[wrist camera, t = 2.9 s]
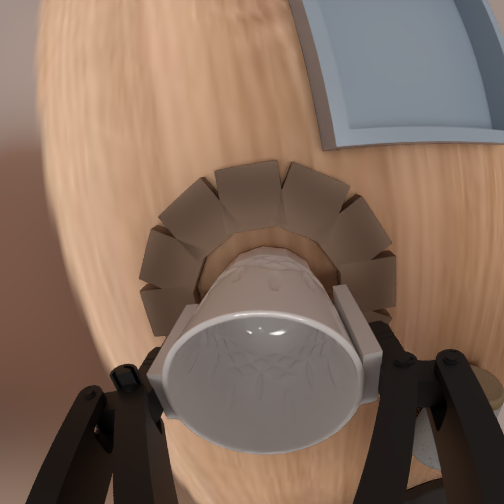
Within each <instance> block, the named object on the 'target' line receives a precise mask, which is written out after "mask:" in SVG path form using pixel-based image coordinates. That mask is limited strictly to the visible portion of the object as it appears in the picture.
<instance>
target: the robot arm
mask: <svg viewBox="0 0 504 504" xmlns="http://www.w3.org/2000/svg"><path fill="white" fill-rule="evenodd" d="M333 299H334V306H335V308H336V310H337V312H338V314H339V317H340V319H341V321H342V323H343V325H344V327H345V329H346V331H347V333H348V335H349V337H350V339H351V341H352V344H353V346H354V348H355V350H356V352H357V354H358V356H359V358H360V360H361V363H362V366H363V369H364V374H365V389H364V394H363V398H362V401H361V403H360V405H361V404H365V403H370V402H374V401H378V393H379V394H380V402H379V407H378V412H377V417H376V422H375V426H374V431H373V435H372V439H371V443H370V447H369V451H368V455H367V459H366V462H365V466H364V470H363V473H362V476H361V480H360V483H359V486H358V489H357V492H356V495H355V498H354V501H353V504H504V434H503V432H502V430H501V428H500V425H499V423H498V420H497V418H496V416H495V414H494V412H493V409H492V407H491V405H490V403H489V401H488V399H487V397H486V395H485V393H484V391H483V389H482V387H481V385H480V383H479V381H478V379H477V377H476V375H475V374H474V372H473V370H472V368H471V366H470V364H469V363H468V361H467V359H466V357H465V356H464V355H463V354H462V353H461V352H460V351H458V350H453V349H446V350H443V351H441V352H440V353H438V354H437V357H436V360H430V361H420V360H417V357H416V356H414V355H413V354H411V353H409V352H405V351H404V349H403V347H402V346H401V344H400V343H399V341H398V339H397V338H396V336H395V335H394V333H393V332H392V330H391V329H390V327H389V325H388V324H386V323H384V322H383V321H381V320H380V321H375V322H370V323H367V321H366V319H365V317H364V316H363V314H362V312H361V310H360V308H359V307H358V305H357V303H356V301H355V300H354V298H353V296H352V294H351V293H350V291H349V289H348V287H347V286H346V284H343V285H337V286H333ZM198 305H199V304H191V305H186V307H185V308H184V310H183V312H182V314H181V315H180V317H179V319H178V320H177V322H176V324H175V325H174V327H173V329H172V331H171V332H170V334H169V336H168V337H167V339H166V341H165V343H164V344H163V346H162V347H155V348H154V349H153V350H152V351H150V352H149V353H148V355H147V357H146V358H145V360H144V361H143V363H142V365H141V366H140V368H139V370H138V369H137V367H136V366H135V365H133V364H123V365H120V366H118V367H116V368H115V369H113V370H112V371H111V373H110V377H111V379H112V381H113V383H114V385H115V387H116V389H117V391H114V392H107V393H104V392H103V391H102V389H101V388H100V387H99V386H96V385H92V386H88V387H86V388H84V389H83V390H82V391H80V393H79V394H78V396H77V398H76V399H75V401H74V403H73V405H72V407H71V409H70V410H69V412H68V414H67V416H66V418H65V420H64V422H63V424H62V426H61V428H60V429H59V431H58V433H57V435H56V437H55V439H54V441H53V443H52V446H51V447H50V450H49V452H48V454H47V456H46V458H45V460H44V462H43V464H42V466H41V469H40V471H39V473H38V475H37V477H36V480H35V482H34V484H33V486H32V489H31V491H30V494H29V496H28V498H27V501H26V503H25V504H104V503H105V500H106V495H107V492H108V488H109V484H110V481H111V477H112V473H113V496H114V504H178V499H177V495H176V490H175V486H174V481H173V475H172V470H171V465H170V459H169V454H168V448H167V441H166V435H165V428H164V423H163V420H162V419H161V415H162V413H163V411H164V413H165V415H166V417H167V419H178V418H177V416H176V415H175V414H174V413H173V411H172V410H171V408H170V406H169V404H168V402H167V400H166V398H165V395H164V392H163V387H162V369H163V365H164V361H165V359H166V356H167V354H168V352H169V351H170V349H171V347H172V346H173V344H174V343H175V341H176V340H177V338H178V337H179V335H180V334H181V332H182V330H183V329H184V327H185V326H186V324H187V323H188V321H189V319H190V318H191V316H192V315H193V313H194V312H195V310H196V308H197V307H198ZM416 408H426V411H427V415H428V418H429V422H430V426H431V430H432V433H433V437H434V441H435V446H436V450H437V454H438V459H439V463H440V468H441V473H442V478H443V479H438V480H435V481H431V482H428V483H425V484H423V485H420V486H417V487H415V488H413V489H410V490H408V491H406V488H407V483H408V477H409V472H410V465H411V458H412V451H413V443H414V433H415V422H416ZM95 426H96V428H97V430H96V432H94V429H95Z"/></svg>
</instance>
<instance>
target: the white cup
mask: <svg viewBox="0 0 504 504" xmlns="http://www.w3.org/2000/svg"><path fill="white" fill-rule="evenodd" d="M162 387H163V392H164V395H165V398H166V400H167V402H168V404H169V406H170V408H171V410H172V411H173V413H174V414H175V415H176V416H177V418H178V419H179V420H180V421H181V422H182V423H183V424H184V425H185V426H186V427H187V428H189V429H190V430H191V431H192V432H194V433H195V434H197V435H198V436H200V437H201V438H203V439H205V440H207V441H209V442H211V443H213V444H215V445H218V446H220V447H223V448H226V449H229V450H233V451H237V452H242V453H249V454H262V455H270V454H283V453H289V452H294V451H298V450H302V449H305V448H308V447H311V446H313V445H316V444H318V443H320V442H322V441H324V440H326V439H328V438H329V437H331V436H332V435H334V434H335V433H337V432H338V431H339V430H340V429H342V428H343V427H344V426H345V425H346V424H347V423H348V422H349V421H350V419H351V418H352V417H353V415H354V414H355V413H356V411H357V409H358V407H359V405H360V403H361V401H362V398H363V394H364V389H365V374H364V369H363V366H362V363H361V360H360V358H359V356H358V354H357V352H356V350H355V348H354V346H353V344H352V341H351V339H350V337H349V335H348V333H347V331H346V329H345V327H344V325H343V323H342V321H341V319H340V317H339V314H338V312H337V310H336V308H335V306H334V305H333V303H332V301H331V300H330V298H329V296H328V294H327V292H326V291H325V289H324V287H323V285H322V284H321V282H320V281H319V280H318V279H317V278H316V276H315V274H314V273H313V271H312V270H311V268H310V266H309V265H308V263H307V262H306V260H304V259H302V258H301V257H299V256H297V255H296V254H294V253H292V252H291V251H289V250H287V249H285V248H275V247H265V246H261V247H258V248H255V249H253V250H250V251H247V252H244V253H241V254H239V255H238V256H237V257H236V258H235V259H234V260H233V261H232V262H231V263H230V264H229V265H228V266H227V267H226V268H225V269H224V271H223V272H222V274H221V275H220V276H219V277H218V278H217V280H216V281H215V282H214V284H213V285H212V286H211V288H210V290H209V291H208V292H207V294H206V295H205V296H204V298H203V299H202V301H201V302H200V304H199V305H198V307H197V308H196V310H195V312H194V313H193V315H192V316H191V318H190V319H189V321H188V323H187V324H186V326H185V327H184V329H183V330H182V332H181V334H180V335H179V337H178V338H177V340H176V341H175V343H174V344H173V346H172V347H171V349H170V351H169V352H168V354H167V356H166V359H165V361H164V365H163V369H162Z"/></svg>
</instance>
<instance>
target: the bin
mask: <svg viewBox="0 0 504 504" xmlns="http://www.w3.org/2000/svg"><path fill="white" fill-rule="evenodd" d="M288 1H289V4H290V7H291V11H292V14H293V18H294V21H295V25H296V29H297V32H298V36H299V40H300V44H301V48H302V52H303V56H304V60H305V64H306V68H307V73H308V77H309V82H310V86H311V91H312V96H313V101H314V106H315V111H316V116H317V121H318V127H319V132H320V138H321V144H322V150H323V151H329V150H338V149H349V148H360V147H373V146H389V145H410V144H489V145H504V37H503V35H502V32H501V30H500V27H499V25H498V22H497V20H496V17H495V15H494V13H493V11H492V9H491V6H490V4H489V2H488V0H288Z"/></svg>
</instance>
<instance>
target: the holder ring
mask: <svg viewBox="0 0 504 504" xmlns="http://www.w3.org/2000/svg"><path fill="white" fill-rule="evenodd" d="M214 172H215V178H216V183H217V189H218V192H217V191H216V190H215V188H214V187H213V186H212V185H211V184H210V183H209V181H208V180H207V179H206V178H205V177H202V178H199V179H198V180H197V181H196V182H195V183H194V184H193V185H191V186H190V187H189V188H188V189H187V190H186V191H185V192H184V193H183V194H182V195H181V196H179V197H178V198H177V199H176V200H175V201H174V202H173V203H172V204H171V205H170V206H169V207H168V208H167V209H166V210H165V211H164V212H162V213H161V214H160V215H159V216H158V218H159V219H160V220H161V221H162V223H163V224H164V225H165V226H166V227H167V229H166V228H164V227H161V226H158V225H157V226H155V227H154V228H152V229H151V230H150V234H149V238H148V242H147V246H146V250H145V254H144V258H143V263H142V267H141V271H140V276H139V279H140V280H143V281H145V282H147V283H150V284H148V285H145V286H144V287H143V288H142V289H141V290H140V295H141V298H142V301H143V304H144V307H145V310H146V313H147V316H148V319H149V322H150V325H151V328H152V331H153V334H154V336H169V334H170V332H171V331H172V329H173V327H174V325H175V324H176V322H177V320H178V319H179V317H180V315H181V314H182V312H183V310H184V308H185V307H186V305H191V304H200V302H201V299H200V296H199V292H198V288H197V285H198V282H199V279H200V276H201V272H202V269H203V266H204V263H205V260H206V257H207V255H209V254H210V253H211V252H212V251H214V250H215V249H216V248H217V247H218V246H220V245H221V244H222V243H223V242H225V241H226V240H227V239H228V238H229V237H231V236H232V235H233V234H234V233H238V232H244V231H251V230H257V229H264V228H271V227H277V226H278V227H280V228H283V229H286V230H288V231H291V232H293V233H296V234H298V235H301V236H303V237H306V238H309V239H311V240H314V241H316V242H318V244H319V245H320V246H321V248H322V249H323V250H324V252H325V253H326V254H327V256H328V257H329V258H330V260H331V261H332V262H333V264H334V265H335V266H336V268H337V278H338V285H343V284H346V286H347V287H348V289H349V291H350V293H351V294H352V296H353V298H354V300H355V301H356V303H357V305H358V307H359V308H360V310H361V312H362V314H363V316H364V317H365V319H366V321H367V323H370V322H375V321H380V320H381V321H383V322H384V323H386V324H389V322H390V321H391V319H392V318H391V316H390V315H389V313H388V312H387V311H386V310H384V308H389V307H394V306H396V255H394V254H393V253H392V252H391V251H384V252H382V251H383V250H384V249H385V248H387V247H388V246H389V245H390V244H392V241H391V240H390V238H389V237H388V235H387V233H386V232H385V230H384V229H383V227H382V226H381V224H380V222H379V221H378V219H377V218H376V216H375V215H374V213H373V212H372V210H371V209H370V207H369V206H368V204H367V203H366V201H365V200H364V198H363V197H362V196H360V195H357V194H356V195H354V196H353V197H352V198H351V199H349V200H348V201H347V202H346V203H344V200H345V198H346V195H347V193H348V190H349V188H350V186H349V185H346V184H344V183H342V182H340V181H337V180H335V179H333V178H331V177H328V176H326V175H324V174H321V173H319V172H317V171H314V170H312V169H309V168H307V167H304V166H302V165H299V164H297V163H294V162H291V165H290V167H289V170H288V173H287V175H286V178H285V180H284V183H283V185H282V188H281V184H280V177H279V171H278V165H277V160H273V161H267V162H260V163H254V164H248V165H243V166H237V167H231V168H226V169H221V170H216V171H214ZM343 203H344V204H343ZM166 339H167V338H166ZM166 339H165V341H166ZM165 341H164V342H163V344H164V343H165ZM163 344H162V346H163ZM162 346H161V347H162Z"/></svg>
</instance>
